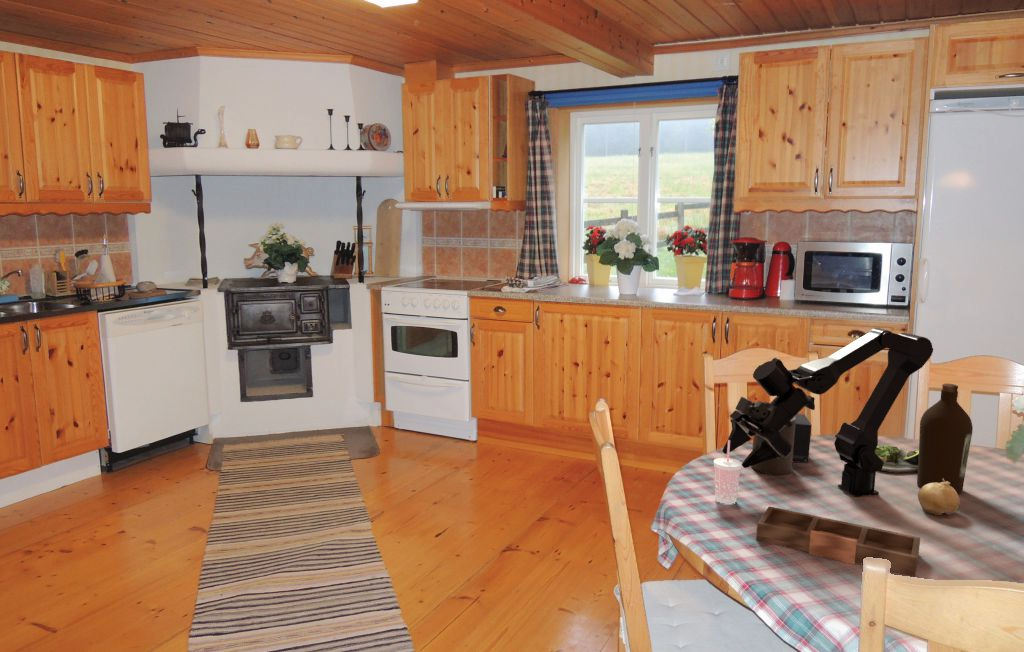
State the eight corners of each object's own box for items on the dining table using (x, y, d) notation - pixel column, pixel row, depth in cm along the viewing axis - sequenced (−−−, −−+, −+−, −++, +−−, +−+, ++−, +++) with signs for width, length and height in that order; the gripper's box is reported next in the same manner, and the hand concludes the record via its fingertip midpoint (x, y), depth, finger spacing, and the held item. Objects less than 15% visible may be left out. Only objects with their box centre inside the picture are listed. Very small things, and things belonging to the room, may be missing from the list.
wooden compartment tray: (755, 541, 151) (756, 520, 150) (767, 522, 160) (769, 501, 159) (915, 578, 136) (917, 554, 136) (918, 554, 146) (920, 532, 145)
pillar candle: (764, 476, 186) (769, 417, 183) (743, 463, 195) (748, 406, 193) (799, 474, 188) (805, 415, 186) (777, 460, 198) (782, 404, 195)
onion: (957, 522, 161) (960, 490, 159) (914, 513, 165) (917, 482, 164) (959, 509, 167) (962, 479, 166) (918, 501, 171) (921, 471, 170)
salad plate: (872, 479, 186) (874, 460, 185) (831, 454, 204) (832, 438, 203) (943, 474, 189) (945, 457, 188) (896, 451, 207) (898, 435, 206)
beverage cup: (745, 501, 170) (749, 441, 168) (727, 508, 167) (731, 446, 165) (723, 493, 175) (726, 434, 173) (705, 499, 172) (708, 439, 169)
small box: (810, 464, 195) (813, 424, 194) (783, 462, 197) (786, 422, 195) (803, 450, 206) (805, 413, 204) (777, 449, 207) (780, 411, 205)
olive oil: (913, 491, 177) (923, 386, 173) (914, 477, 186) (924, 377, 182) (966, 500, 172) (978, 392, 168) (964, 485, 181) (976, 383, 177)
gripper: (740, 375, 177) (693, 423, 177) (783, 396, 159) (730, 449, 159) (769, 407, 180) (722, 454, 179) (814, 431, 162) (762, 483, 161)
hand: (733, 459), depth 170 cm, fingers open, 9 cm apart
